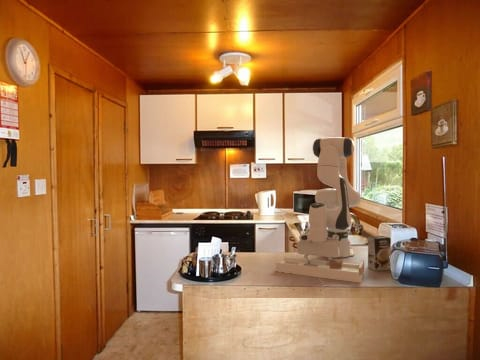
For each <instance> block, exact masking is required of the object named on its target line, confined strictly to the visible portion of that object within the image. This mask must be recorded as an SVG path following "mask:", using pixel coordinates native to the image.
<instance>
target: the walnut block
mask: <svg viewBox="0 0 480 360" xmlns="http://www.w3.org/2000/svg"><path fill="white" fill-rule="evenodd" d="M342 263H343V259H338V258H332V259H331V260H330V263H329V268H330V269H339V270H341V269H342Z"/></svg>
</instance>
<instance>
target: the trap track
mask: <svg viewBox="0 0 480 360" xmlns="http://www.w3.org/2000/svg"><path fill="white" fill-rule="evenodd" d="M309 260H311V261H310V262H311V263H310V264H307V260H306V258H304V257H303V258H302V257H292V256H283V259H282V260H281V261H280V262H275V272H276V271H278V272H277V273H282V272H284V273H283V274H290V273H292V274H291V275H299V276H306V277H313V278H322V279H329V280H339V281H345V282H350V283H351V282H352V283H362V281H363V278H364V276H365V261H364V260H361V262H360V264H358V263H348V262H342V269H341V270H339V269H330V268H329V266H326V261H327V262H328V260H320V259H319V260H318V259H310V258H309ZM329 263H330V262H329Z"/></svg>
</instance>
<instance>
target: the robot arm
mask: <svg viewBox="0 0 480 360" xmlns="http://www.w3.org/2000/svg"><path fill="white" fill-rule="evenodd" d="M355 145H356V144H355V142H354V140H353V139H352V138H350V137H341V136H340V137H337V136H335V137H325V138H324V137H323V138H320V137H319V138H317V139H315V140H314V141H313V144H312V153H313V155H314V156H315V157H317V158H318V161H317V168H316V169H317V170H316V171H317V172H316V173H317V174H316V175H317V178H318V180H319V181H320V182H321V183H322V184H324V185H326V186H328V187H331V188H321V189H318V190H317V191H316V193H315V195H314V199H315V203H312V204H310V206H309V208H308V209H309V211H308V224H309V227H308V232H304V233H302V234H300V235H299V236H298V237H299V238H298V239H299V240H298V242H297V246H296V247H297V248H296V249H297V250H296V252H297V254H299V255H304V259H306V260H307V264H310V263H311V262H310V261H311V260H309V259H310V258H309V256H315V257H324V258H325V257H326V258H327V260H325V261H326V266H329V262H330V260H331V259H338V258H347V257H354V256H355V253H354V249H353V248H352V246H351V241H350V239H349V231H348V228H349V227H350V226H351V225H352V216H351V211H350V208H355V207H357V206H359V204H360V202H361V199H362V197H361V194H360V192H359V190H357V189H355V188H354V187H353V186H352V185H351V183H350V181H349V177H348V168H347V165H348V163H347V162H348V161H347V158H350V157H351V156H353V154H354V152H355V148H356V147H355ZM327 261H328V262H327Z"/></svg>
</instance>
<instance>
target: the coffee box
mask: <svg viewBox="0 0 480 360" xmlns="http://www.w3.org/2000/svg"><path fill="white" fill-rule="evenodd" d="M367 239H368V241H367V268H368V269H370V270H373V271H375V272H377V271H386V270H389V271H390V269H389V256H390V251H391V249H392V248H391V247H392V246H391V244H392V243H391V241H392V239H391V237H389V236H385V235H374V236H368V237H367ZM391 252H392V251H391Z"/></svg>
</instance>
